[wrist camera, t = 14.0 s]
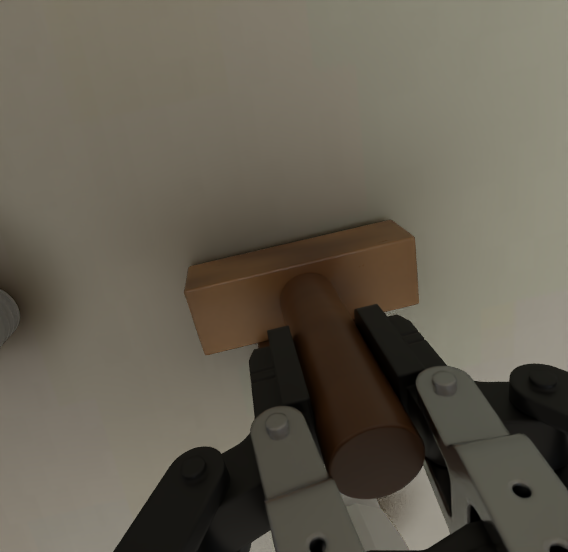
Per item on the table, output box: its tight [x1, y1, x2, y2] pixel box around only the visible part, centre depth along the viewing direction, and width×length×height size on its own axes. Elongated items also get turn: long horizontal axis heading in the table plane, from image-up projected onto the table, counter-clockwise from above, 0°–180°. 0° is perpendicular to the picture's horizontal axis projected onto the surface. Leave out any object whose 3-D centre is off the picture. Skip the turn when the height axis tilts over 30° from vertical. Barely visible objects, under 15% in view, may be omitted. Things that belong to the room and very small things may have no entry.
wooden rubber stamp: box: [184, 220, 425, 499], centre depth 14 cm, size 9×3×10 cm, turn 101°
